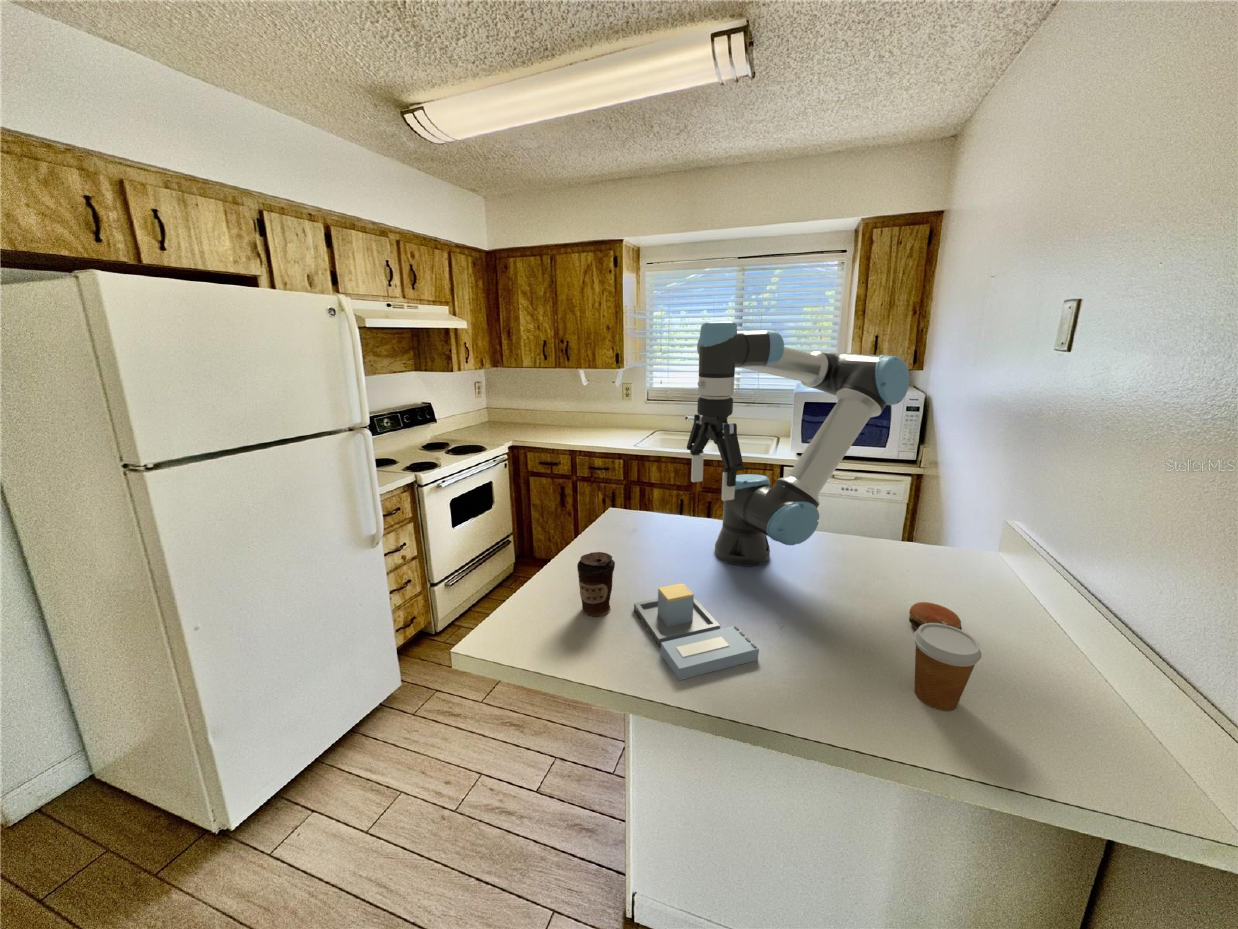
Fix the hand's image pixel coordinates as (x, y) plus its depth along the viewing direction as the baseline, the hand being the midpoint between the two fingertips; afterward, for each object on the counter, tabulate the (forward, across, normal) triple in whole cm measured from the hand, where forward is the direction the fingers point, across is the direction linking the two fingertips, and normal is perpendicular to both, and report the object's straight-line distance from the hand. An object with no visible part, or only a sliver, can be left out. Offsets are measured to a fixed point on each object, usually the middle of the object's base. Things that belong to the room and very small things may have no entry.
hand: (711, 490), depth 109 cm
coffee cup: (+26, -2, -27) cm, 38 cm away
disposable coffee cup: (+27, +44, +20) cm, 55 cm away
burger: (+27, +29, +38) cm, 55 cm away
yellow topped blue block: (+26, +8, -12) cm, 29 cm away
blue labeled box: (+26, +21, -12) cm, 35 cm away
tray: (+26, +8, -12) cm, 30 cm away
